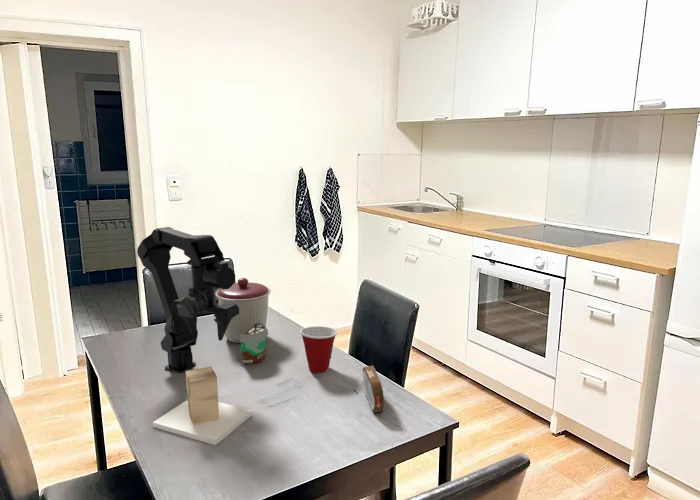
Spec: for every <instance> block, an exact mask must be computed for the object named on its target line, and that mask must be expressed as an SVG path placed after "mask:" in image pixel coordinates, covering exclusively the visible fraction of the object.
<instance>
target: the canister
mask: <svg viewBox="0 0 700 500" xmlns="http://www.w3.org/2000/svg"><path fill="white" fill-rule="evenodd" d="M270 294H271V289H270V288H269V287H267V286H266V285H264V284H262V283H258V282H249V280H248V278H246V277H240V278H239V279H238V280H237V282H236V283H235V282H234V284H233V285H232V286H231V287H230V288H229V289H220V288H218V290H216V291H215V298H217V299H219V303H218V306H220V305H222V304H224V303H232V304H237V305H238V306H239V314H238V315H236V316H235V317H233V318H232V319H231V321H230V323H229V325H228V327H227V329H226V332H225V334H224V337H225V338H226V339H227V340H228V341H230V342H232V343H235V344H236V343H237V344H241V342H240V335H244V334H245V333H246V332H247V330H248V329H250V328H252V327H253V326H254V325H255V322H259V323H263V324H265V325H266V326H267V319H268V307H269V296H270Z"/></svg>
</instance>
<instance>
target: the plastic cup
mask: <svg viewBox="0 0 700 500" xmlns="http://www.w3.org/2000/svg"><path fill="white" fill-rule="evenodd" d="M299 331H300V335H301V338H302V340H303V341H302V343H303V346H304V350H305V357H306V361H307V365H308V366H307V367H308V370H309V371H310V372H311V373H315V374H318V373H319V374H321V373H326V372H328V370H329V368H330V364H331V363H330V362H331V358H332V353H333V347H334V342H335V339H336V336H337V335H338V331H337V330H336V329H334V328H332V327H328V326H322V325H321V326H319V325H318V326H307V327H304V328H301V329H300V330H299Z"/></svg>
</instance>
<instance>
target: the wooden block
mask: <svg viewBox="0 0 700 500" xmlns="http://www.w3.org/2000/svg"><path fill="white" fill-rule="evenodd" d="M217 376H218V375H217V374H216V373H215V370H214V369H213V367H212V366H205V367H200V368H195V369H190V370H185V382H186V383H185V384H186V395H187V397H186V398H187V399H186V400H188V413H189V416H190V419H191V421H192V424H193V425H197V424H202V423H206V422H210V421H214V420H218V419H219V407H218V402H219V394H218V377H217Z"/></svg>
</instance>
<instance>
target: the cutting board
mask: <svg viewBox="0 0 700 500" xmlns="http://www.w3.org/2000/svg"><path fill="white" fill-rule="evenodd" d="M218 407H219V419H218V420H214V421H210V422H206V423H202V424H197V425H193V424H192V421H191V419H190V416H189V413H188V399H186V400H185V401H183V402H181V403H180V404H178V405H176V407H174V408H173V409H171V410H169V411H168V412H167V413H165V414H164V415H161V416H160V417H159V418H157V419H156V420H154V421H152V425H153V428H155V429H159V430H162V431H166V432H168V433H169V432H170V433H173V434H175V435H176V434H177V435H180V436H183V437H186V438H189V439H193V440H196V441H199V442H203V443H206V444H209V445H213V446H217V445H218V444H219V443H220V442H221V441H223V440H224V439H225V438H226V437H228V435H230V434H231V433H232V432H234V431H235V430H236V429H237V428H239V427H240V426H241V425H242V424H243V423H244V422H246V421H247V420H248V419H249V418H250V417H251V416H253V410H252V409H248V408H245V407H240V406H235V405H231V404H227V403H224V402H219V401H218Z"/></svg>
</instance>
